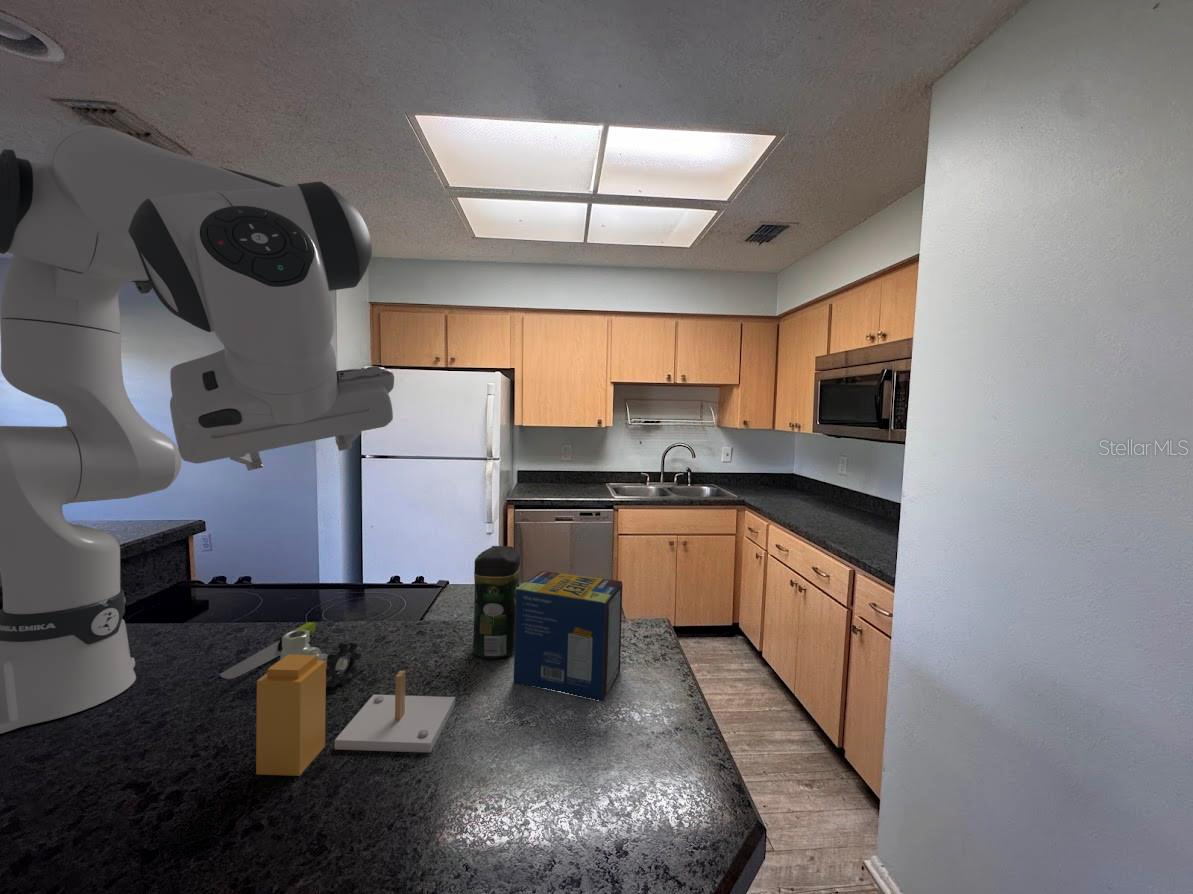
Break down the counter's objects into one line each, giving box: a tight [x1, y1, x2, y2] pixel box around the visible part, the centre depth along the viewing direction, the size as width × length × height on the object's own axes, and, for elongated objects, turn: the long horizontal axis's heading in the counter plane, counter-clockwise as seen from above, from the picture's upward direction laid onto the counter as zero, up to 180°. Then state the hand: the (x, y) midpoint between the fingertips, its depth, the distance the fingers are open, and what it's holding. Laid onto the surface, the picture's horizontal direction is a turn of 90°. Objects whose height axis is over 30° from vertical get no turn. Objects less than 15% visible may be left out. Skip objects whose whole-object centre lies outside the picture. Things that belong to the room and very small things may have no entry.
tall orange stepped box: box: [255, 654, 327, 777], centre depth 56 cm, size 5×5×12 cm
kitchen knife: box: [219, 621, 317, 680], centre depth 78 cm, size 22×1×3 cm, turn 0°
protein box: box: [513, 570, 623, 701], centre depth 77 cm, size 10×15×16 cm
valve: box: [279, 629, 362, 688], centre depth 74 cm, size 7×7×12 cm
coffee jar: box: [472, 545, 521, 660], centre depth 86 cm, size 10×8×19 cm
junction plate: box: [334, 670, 456, 753], centre depth 63 cm, size 12×10×7 cm
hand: (301, 454), depth 56 cm, fingers open, 8 cm apart
